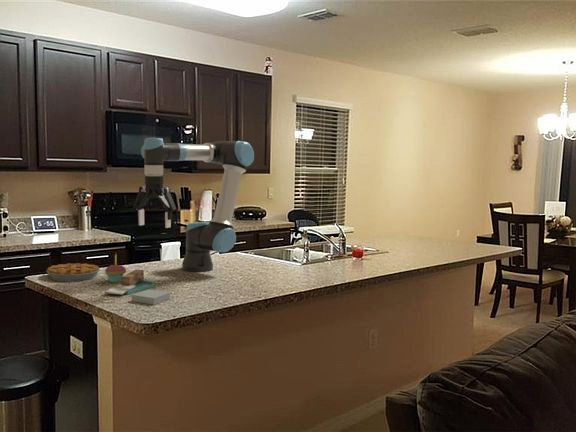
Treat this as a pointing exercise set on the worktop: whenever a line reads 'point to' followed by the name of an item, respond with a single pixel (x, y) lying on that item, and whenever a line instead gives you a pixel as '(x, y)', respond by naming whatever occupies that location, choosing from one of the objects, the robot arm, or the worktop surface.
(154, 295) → the tile
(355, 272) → the worktop surface
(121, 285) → the turner
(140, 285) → the rest
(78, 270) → the pie
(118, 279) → the cupcake
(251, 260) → the worktop surface
